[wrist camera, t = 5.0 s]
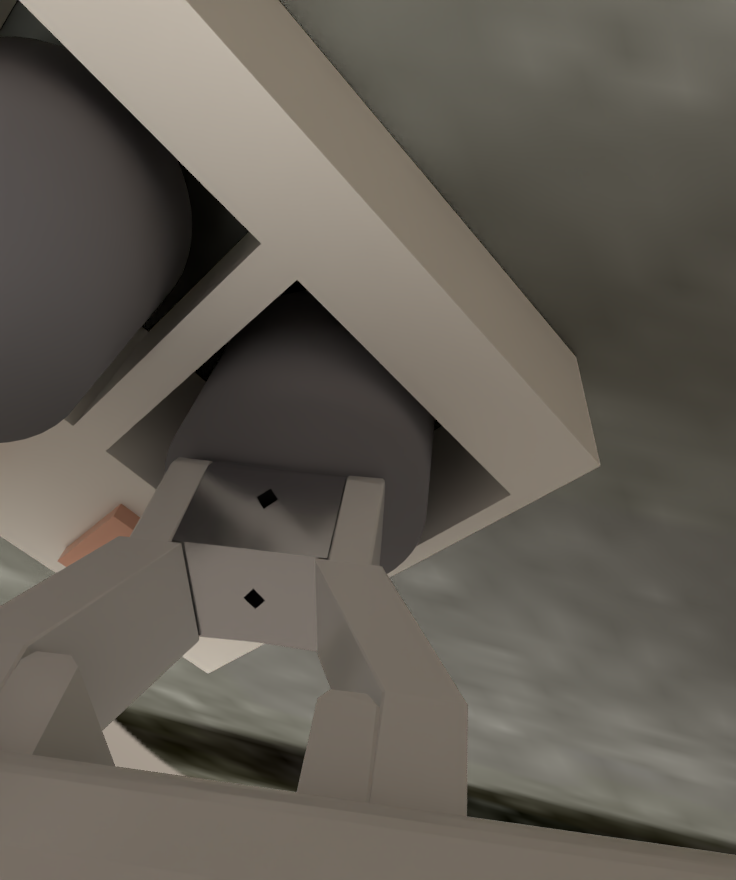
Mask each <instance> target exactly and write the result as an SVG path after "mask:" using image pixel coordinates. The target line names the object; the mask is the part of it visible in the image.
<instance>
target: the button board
mask: <svg viewBox="0 0 736 880" xmlns="http://www.w3.org/2000/svg"><path fill="white" fill-rule="evenodd" d="M16 1H17V0H0V28H1V27H2V25H3V23H4V22H5V20H6V18H7V17H8V15H9V13H10V11H11V10H12V8H13V6H14V5H15V3H16ZM19 1H20V2H21V3H22V4H23V5H24V6H25V7H26V8H27V9H28V10H29V11H30V12H31V13H32V14H33V15H34V16H35V17H36V18H37V19H38V20H39V21H40V22H41V23H42V24H43V25H44V26H45V27H46V28H47V29H48V30H49V31H50V32H51V33H52V34H53V35H54V36H55V37H56V38H57V39H58V40H59V41H60V42H61V43H62V44H63V45H64V46H65V47H66V48H67V49H68V50H69V51H70V52H71V53H72V54H73V55H74V56H75V57H76V58H77V59H78V60H79V61H80V62H81V63H82V64H83V65H84V66H85V67H86V68H87V69H88V70H89V71H90V72H91V73H92V74H93V75H94V76H95V77H96V78H97V79H98V80H99V81H100V82H101V83H102V84H103V85H104V86H105V87H106V88H107V89H108V90H109V91H110V92H111V93H112V94H113V95H114V96H115V97H116V98H117V99H118V100H119V101H120V102H121V103H122V104H123V105H124V106H125V107H126V108H127V109H128V110H129V111H130V112H131V113H132V114H133V115H134V116H135V117H136V118H137V119H138V120H139V121H140V122H141V123H142V124H143V125H144V126H145V127H146V128H147V129H148V130H149V131H150V132H151V133H152V134H153V135H154V136H155V137H156V138H157V139H158V140H159V141H160V142H161V143H162V144H163V145H164V146H165V147H166V148H167V149H168V150H169V151H170V152H171V153H172V154H173V156H174V157H175V158H176V159H177V160H178V161H179V162H180V163H181V164H182V165H183V166H184V167H185V168H186V169H187V170H188V171H189V172H190V173H191V174H192V175H193V176H194V177H195V178H196V179H197V180H198V181H199V182H200V183H201V184H202V185H203V186H204V187H205V188H206V189H207V190H208V191H209V192H210V193H211V194H212V195H213V196H214V197H215V198H216V199H217V200H218V201H219V202H220V203H221V204H222V205H223V206H224V207H225V208H226V209H227V210H228V211H229V212H230V213H231V214H232V215H233V216H234V217H235V218H236V219H237V220H238V221H239V222H240V223H241V224H242V225H243V226H244V227H245V228H246V229H247V230H248V231H249V232H248V233H247V234H246V235H245V236H244V237H243V238H242V239H241V240H240V241H239V242H238V243H237V244H236V245H235V246H234V247H233V248H232V249H231V250H230V251H229V252H228V253H227V254H226V255H225V256H224V257H223V258H222V259H221V260H220V261H219V262H218V263H217V264H216V265H215V266H214V267H213V268H212V269H211V270H210V271H209V272H208V273H207V274H206V275H205V276H204V277H203V278H202V279H201V280H200V281H199V282H198V283H197V284H196V285H195V286H194V287H193V288H192V289H191V290H190V291H189V292H188V293H187V294H186V295H185V296H184V297H183V298H182V299H181V300H180V301H179V302H178V303H177V304H176V305H175V306H174V307H173V308H172V309H171V310H170V311H169V312H168V313H167V314H166V315H165V316H164V317H163V318H162V319H161V320H160V321H159V322H158V323H157V324H156V325H155V326H154V327H153V328H152V329H151V330H150V331H149V332H148V331H147V330H145V329H144V328H143V327H141V328H140V329H139V330H138V332H137V333H136V334H135V335H134V336H133V338H132V339H131V340H130V341H129V342H128V344H127V345H126V346H125V347H124V349H123V350H122V351H121V352H120V353H119V355H118V356H117V357H116V358H115V359H114V361H113V362H112V363H111V364H110V365H109V367H108V368H107V369H106V370H105V372H104V373H103V374H102V375H101V376H100V378H99V379H98V380H97V381H96V382H95V384H94V385H93V386H92V387H91V389H90V390H89V391H88V392H87V393H86V395H85V396H84V397H83V398H82V399H81V401H80V402H79V403H78V404H77V405H76V407H75V408H74V409H73V410H72V411H71V413H70V414H69V415H68V416H67V417H66V418H64V419H63V420H62V421H61V422H60V423H58V424H57V425H56V426H54V427H52V428H50V429H49V430H47V431H45V432H43V433H41V434H38V435H36V436H33V437H30V438H27V439H23V440H18V441H13V442H7V443H0V536H1V537H2V538H4V539H5V540H7V541H8V542H10V543H11V544H13V545H14V546H16V547H17V548H19V549H21V550H22V551H24V552H25V553H27V554H28V555H30V556H31V557H33V558H34V559H36V560H37V561H39V562H40V563H42V564H43V565H45V566H46V567H48V568H49V569H51V570H52V571H54V572H55V573H57V572H59V571H61V570H62V569H64V568H66V567H67V566H69V565H71V564H72V563H74V562H76V561H77V560H79V559H81V558H83V557H84V556H86V555H88V554H89V553H91V552H93V551H94V550H96V549H98V548H99V547H101V546H103V545H105V544H106V543H108V542H110V541H111V540H113V539H115V538H116V537H118V536H124V537H130V535H131V533H132V532H133V530H134V528H135V526H136V524H137V523H138V521H139V519H140V517H141V516H142V514H143V512H144V510H145V509H146V507H147V505H148V503H149V501H150V500H151V498H152V496H153V494H154V493H155V491H156V489H157V487H158V486H159V484H160V482H161V480H162V478H163V477H164V469H165V460H166V456H167V452H168V449H169V447H170V444H171V442H172V440H173V438H174V436H175V434H176V433H177V431H178V429H179V428H180V426H181V424H182V422H183V421H184V419H185V417H186V416H187V414H188V412H189V411H190V409H191V407H192V405H193V404H194V402H195V400H196V399H197V397H198V395H199V394H200V392H201V390H202V388H203V387H204V385H205V383H206V382H205V381H204V380H203V379H202V378H201V377H200V376H199V375H197V374H196V373H195V372H194V371H196V370H197V369H198V368H199V367H200V366H201V365H202V364H203V363H205V362H206V361H207V360H208V359H209V358H210V357H211V356H212V355H213V354H215V353H216V352H217V351H218V350H219V349H220V348H221V347H222V346H224V345H225V344H226V343H227V342H228V341H229V340H230V339H231V338H232V337H234V336H235V335H236V334H237V333H238V332H239V331H240V330H241V329H242V328H244V327H245V326H246V325H247V324H248V323H249V322H250V321H251V320H253V319H254V318H255V317H256V316H257V315H258V314H259V313H260V312H261V311H263V310H264V309H265V308H266V307H267V306H268V305H269V304H270V303H272V302H273V301H274V300H275V299H276V298H277V297H278V296H279V295H280V294H282V293H283V292H284V291H285V290H286V289H287V288H288V287H289V286H291V285H292V284H293V283H294V282H295V281H296V280H298V281H299V282H300V283H301V284H302V285H303V286H304V287H305V288H306V289H307V290H308V291H309V292H310V293H311V294H312V295H313V296H314V297H315V298H316V299H317V300H318V301H319V302H320V303H321V304H322V305H323V306H324V307H325V308H326V309H327V310H328V311H329V312H330V313H331V314H332V315H333V316H334V317H335V318H336V319H337V320H338V321H339V322H340V323H341V324H342V325H343V326H344V327H345V328H346V329H347V330H348V331H349V332H350V333H351V334H352V335H353V336H354V337H355V338H356V339H357V340H358V341H359V342H360V343H361V344H362V345H363V346H364V347H365V348H366V349H367V350H368V351H369V352H370V353H371V354H372V355H373V356H374V357H375V358H376V359H377V360H378V361H379V363H380V364H381V365H382V366H383V367H384V368H385V369H386V370H387V371H388V372H389V373H390V374H391V375H392V376H393V377H394V378H395V379H396V380H397V381H398V382H399V383H400V384H401V385H402V386H403V387H404V388H405V389H406V390H407V391H408V392H409V393H410V394H411V395H412V396H413V397H414V398H415V399H416V400H417V401H418V402H419V403H420V404H421V405H422V406H423V407H424V408H425V409H426V410H427V411H428V412H429V413H430V414H431V415H432V416H433V417H434V418H435V419H436V420H437V421H438V422H439V423H440V424H441V425H442V426H441V427H439V428H438V429H436V430H435V431H434V434H433V445H432V457H431V469H430V480H429V492H428V503H427V515H426V521H425V526H424V530H423V533H422V535H421V538H420V540H419V542H418V544H417V545H416V547H415V549H414V550H413V552H412V553H411V554H410V555H409V556H408V557H407V559H406V560H405V561H404V562H403V563H402V564H400V565H399V566H398V567H397V568H396V569H394V570H393V571H391V572H390V573H388V574H387V575H388V577H389V578H390V577H392V576H393V575H395V574H397V573H399V572H401V571H403V570H405V569H407V568H409V567H410V566H412V565H414V564H416V563H418V562H420V561H422V560H424V559H426V558H427V557H429V556H431V555H433V554H435V553H437V552H439V551H441V550H443V549H444V548H446V547H448V546H450V545H452V544H454V543H456V542H458V541H460V540H461V539H463V538H465V537H467V536H469V535H471V534H473V533H475V532H477V531H479V530H480V529H482V528H484V527H486V526H488V525H490V524H492V523H494V522H496V521H497V520H499V519H501V518H503V517H505V516H507V515H509V514H511V513H513V512H514V511H516V510H518V509H520V508H522V507H524V506H526V505H528V504H530V503H531V502H533V501H535V500H537V499H539V498H541V497H543V496H545V495H547V494H548V493H550V492H552V491H554V490H556V489H558V488H560V487H562V486H564V485H565V484H567V483H569V482H571V481H573V480H575V479H577V478H579V477H581V476H582V475H584V474H586V473H588V472H590V471H592V470H594V469H596V468H598V467H599V466H601V465H600V460H599V456H598V451H597V447H596V443H595V438H594V434H593V429H592V425H591V420H590V416H589V411H588V407H587V402H586V398H585V394H584V389H583V385H582V380H581V376H580V371H579V367H578V362H577V358H576V356H575V355H574V354H573V353H572V352H571V350H570V349H569V348H568V347H567V346H566V344H565V343H564V342H563V341H562V340H561V338H560V337H559V336H558V335H557V334H556V332H555V331H554V330H553V329H552V328H551V326H550V325H549V324H548V323H547V322H546V320H545V319H544V318H543V317H542V316H541V314H540V313H539V312H538V311H537V310H536V308H535V307H534V306H533V305H532V304H531V302H530V301H529V300H528V299H527V298H526V296H525V295H524V294H523V293H522V292H521V290H520V289H519V288H518V287H517V286H516V284H515V283H514V282H513V281H512V280H511V278H510V277H509V276H508V275H507V274H506V272H505V271H504V270H503V269H502V268H501V266H500V265H499V264H498V263H497V262H496V260H495V259H494V258H493V257H492V256H491V254H490V253H489V252H488V251H487V250H486V248H485V247H484V246H483V245H482V244H481V242H480V241H479V240H478V239H477V238H476V236H475V235H474V234H473V233H472V232H471V230H470V229H469V228H468V227H467V226H466V224H465V223H464V222H463V221H462V220H461V218H460V217H459V216H458V215H457V214H456V212H455V211H454V210H453V209H452V208H451V206H450V205H449V204H448V203H447V202H446V200H445V199H444V198H443V197H442V196H441V194H440V193H439V192H438V191H437V190H436V188H435V187H434V186H433V185H432V184H431V182H430V181H429V180H428V179H427V178H426V176H425V175H424V174H423V173H422V172H421V170H420V169H419V168H418V167H417V166H416V164H415V163H414V162H413V161H412V160H411V158H410V157H409V156H408V155H407V154H406V152H405V151H404V150H403V149H402V148H401V146H400V145H399V144H398V143H397V142H396V140H395V139H394V138H393V137H392V136H391V134H390V133H389V132H388V131H387V130H386V128H385V127H384V126H383V125H382V124H381V122H380V121H379V120H378V119H377V118H376V116H375V115H374V114H373V113H372V112H371V110H370V109H369V108H368V107H367V106H366V104H365V103H364V102H363V101H362V100H361V98H360V97H359V96H358V95H357V94H356V92H355V91H354V90H353V89H352V88H351V86H350V85H349V84H348V83H347V82H346V80H345V79H344V78H343V77H342V76H341V74H340V73H339V72H338V71H337V70H336V68H335V67H334V66H333V65H332V64H331V62H330V61H329V60H328V59H327V58H326V56H325V55H324V54H323V53H322V52H321V50H320V49H319V48H318V47H317V46H316V44H315V43H314V42H313V41H312V40H311V38H310V37H309V36H308V35H307V34H306V32H305V31H304V30H303V29H302V28H301V26H300V25H299V24H298V23H297V22H296V20H295V19H294V18H293V17H292V16H291V14H290V13H289V12H288V11H287V10H286V8H285V7H284V6H283V5H282V4H281V2H280V1H279V0H19ZM263 644H265V643H258V642H248V641H238V640H228V639H218V638H208V637H199V641H198V642H197V643H196V644H195V645H194V646H193V647H192V648H191V649H190V650H188V651H187V652H186V653H185V654H184V655H183V656H182V657H184V658H185V659H187V660H188V661H190V662H191V663H193V664H194V665H196V666H197V667H199V668H200V669H202V670H203V671H205V672H206V673H210V672H212V671H214V670H216V669H218V668H220V667H221V666H223V665H225V664H227V663H229V662H231V661H233V660H235V659H237V658H238V657H240V656H242V655H244V654H246V653H248V652H250V651H252V650H254V649H255V648H257V647H259V646H261V645H263Z"/></svg>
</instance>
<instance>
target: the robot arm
mask: <svg viewBox="0 0 736 880" xmlns="http://www.w3.org/2000/svg"><path fill="white" fill-rule="evenodd" d="M384 498H385V480H384V479H383V478H372V477H360V476H341V475H331V474H321V473H311V472H300V471H290V470H281V469H273V468H265V467H258V466H250V465H242V464H234V463H227V462H219V461H213V462H212V461H206V460H198V459H190V458H183V457H179V458H177V459H176V460H175V461H173V462H172V463H171V464H170V466H169V468H168V470H167V471H166V473H165V475H164V477H163V478H162V480H161V482H160V484H159V486H158V487H157V489H156V491H155V493H154V494H153V496H152V498H151V500H150V501H149V503H148V505H147V507H146V509H145V510H144V512H143V514H142V516H141V517H140V519H139V521H138V523H137V524H136V526H135V528H134V530H133V532H132V533H131V535H130V537H124V536H118V537H116V538H115V539H113V540H111V541H110V542H108V543H106V544H105V545H103V546H101V547H99V548H98V549H96V550H94V551H93V552H91V553H89V554H88V555H86V556H84V557H83V558H81V559H79V560H77V561H76V562H74V563H72V564H71V565H69V566H67V567H66V568H64V569H62V570H61V571H59V572H57V573H56V574H54V575H52V576H50V577H49V578H47V579H45V580H44V581H42V582H40V583H39V584H37V585H35V586H34V587H32V588H30V589H29V590H27V591H25V592H23V593H22V594H20V595H18V596H17V597H15V598H13V599H12V600H10V601H8V602H7V603H5V604H3V605H1V606H0V880H736V855H732V854H725V853H718V852H711V851H704V850H697V849H690V848H683V847H676V846H669V845H662V844H655V843H648V842H641V841H634V840H627V839H620V838H613V837H606V836H599V835H592V834H585V833H578V832H571V831H564V830H557V829H550V828H543V827H536V826H529V825H522V824H515V823H508V822H501V821H494V820H487V819H480V818H473V817H467V725H468V705H467V703H466V701H465V700H464V698H463V696H462V695H461V693H460V692H459V690H458V688H457V687H456V685H455V684H454V682H453V680H452V679H451V677H450V675H449V674H448V672H447V671H446V669H445V667H444V666H443V664H442V662H441V661H440V659H439V658H438V656H437V654H436V653H435V651H434V650H433V648H432V646H431V645H430V643H429V641H428V640H427V638H426V637H425V635H424V633H423V632H422V630H421V629H420V627H419V625H418V624H417V622H416V620H415V619H414V617H413V616H412V614H411V612H410V611H409V609H408V608H407V606H406V604H405V603H404V601H403V599H402V598H401V596H400V595H399V593H398V591H397V590H396V588H395V587H394V585H393V583H392V582H391V580H390V578H389V577H388V575H387V574H386V572H385V570H384V569H383V567H382V566H379V565H380V553H381V542H382V528H383V513H384ZM199 637H208V638H218V639H228V640H238V641H248V642H258V643H265V644H271V645H278V646H284V647H291V648H297V649H304V650H310V651H317V655H318V657H319V660H320V662H321V665H322V667H323V670H324V672H325V675H326V678H327V680H328V683H329V685H330V688H331V689H330V690H329V691H327V692H326V693H324V694H323V695H322V696H320V697H319V698H317V703H316V707H315V712H314V716H313V721H312V726H311V730H310V735H309V739H308V744H307V748H306V753H305V757H304V762H303V766H302V771H301V775H300V780H299V785H298V789H297V792H291V791H284V790H277V789H270V788H263V787H256V786H249V785H242V784H235V783H228V782H221V781H214V780H207V779H200V778H193V777H186V776H179V775H172V774H165V773H158V772H151V771H144V770H136V769H130V768H123V767H115V764H114V762H113V759H112V756H111V754H110V751H109V748H108V746H107V743H106V741H105V738H104V735H103V732H102V730H103V729H105V728H106V727H107V726H108V725H109V724H110V723H111V722H112V721H113V720H114V719H115V718H116V717H117V716H119V715H120V714H121V713H122V712H123V711H124V710H125V709H126V708H127V707H128V706H129V705H130V704H131V703H133V702H134V701H135V700H136V699H137V698H138V697H139V696H140V695H141V694H142V693H143V692H144V691H145V690H147V689H148V688H149V687H150V686H151V685H152V684H153V683H154V682H155V681H156V680H157V679H158V678H159V677H160V676H162V675H163V674H164V673H165V672H166V671H167V670H168V669H169V668H170V667H171V666H172V665H173V664H174V663H176V662H177V661H178V660H179V659H180V658H181V657H182V656H183V655H184V654H185V653H186V652H187V651H188V650H190V649H191V648H192V647H193V646H194V645H195V644H196V643H197V642H198V641H199Z"/></svg>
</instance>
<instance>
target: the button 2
mask: <svg viewBox="0 0 736 880" xmlns="http://www.w3.org/2000/svg"><path fill="white" fill-rule="evenodd" d="M434 422H435V418H434V417H433V416H432V415H431V414H430V413H429V412H428V411H427V410H426V409H425V408H424V407H423V406H422V405H421V404H420V403H419V402H418V401H417V400H416V399H415V398H414V397H413V396H412V395H411V394H410V393H409V392H408V391H407V390H406V389H405V388H404V387H403V386H402V385H401V384H400V383H399V382H398V381H397V380H396V379H395V378H394V377H393V376H392V375H391V374H390V373H389V372H388V371H387V370H386V369H385V368H384V367H383V366H382V365H381V364H380V363H379V361H378V360H377V359H376V358H375V357H374V356H373V355H372V354H371V353H370V352H369V351H368V350H367V349H366V348H365V347H364V346H363V345H362V344H361V343H360V342H359V341H358V340H357V339H356V338H355V337H354V336H353V335H352V334H351V333H350V332H349V331H348V330H347V329H346V328H345V327H344V326H343V325H342V324H341V323H340V322H339V321H338V320H337V319H336V318H335V317H334V316H333V315H332V314H331V313H330V312H329V311H328V310H327V309H326V308H325V307H324V306H323V305H322V304H321V303H320V302H319V301H318V300H317V299H316V298H315V297H314V296H313V295H312V294H311V293H310V292H309V291H299V292H295V293H290V294H286V295H283V296H281V297H278V298H276V299H275V300H274V301H273V302H272V303H270V304H269V305H268V306H267V307H266V308H265V309H264V310H263V311H261V312H260V313H259V314H258V315H257V316H256V317H255V318H254V319H253V320H251V321H250V322H249V323H248V324H247V325H246V326H245V327H244V328H242V329H241V330H240V331H239V332H238V333H237V334H236V335H235V336H234V337H232V339H231V341H230V342H229V344H228V346H227V348H226V349H225V351H224V353H223V354H222V356H221V358H220V359H219V361H218V363H217V365H216V366H215V368H214V370H213V371H212V373H211V375H210V376H209V378H208V380H207V382H206V383H205V385H204V387H203V388H202V390H201V392H200V394H199V395H198V397H197V399H196V400H195V402H194V404H193V405H192V407H191V409H190V411H189V412H188V414H187V416H186V417H185V419H184V421H183V422H182V424H181V426H180V428H179V429H178V431H177V433H176V434H175V436H174V438H173V440H172V442H171V444H170V447H169V449H168V452H167V456H166V460H165V469H164V475H165V473H166V471H167V470H168V468H169V466H170V464H171V463H172V462H173V461H175V460H176V459H177V458H179V457H183V458H190V459H198V460H206V461H212V462H213V461H219V462H227V463H234V464H242V465H250V466H258V467H265V468H273V469H281V470H290V471H300V472H311V473H321V474H331V475H341V476H360V477H372V478H383V479H384V480H385V498H384V513H383V528H382V542H381V553H380V565H379V566H382V567H383V569H384V570H385V572H386V574H388V573H390V572H391V571H393V570H394V569H396V568H397V567H398V566H399V565H400V564H402V563H403V562H404V561H405V560H406V559H407V557H408V556H409V555H410V554H411V553H412V552H413V550H414V549H415V547H416V545H417V544H418V542H419V540H420V538H421V535H422V533H423V530H424V526H425V521H426V515H427V503H428V492H429V480H430V469H431V457H432V445H433V434H434Z"/></svg>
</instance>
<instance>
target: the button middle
mask: <svg viewBox="0 0 736 880" xmlns="http://www.w3.org/2000/svg"><path fill="white" fill-rule="evenodd" d="M191 235H192V216H191V206H190V200H189V195H188V190H187V186H186V183H185V180H184V177H183V174H182V170H181V168H180V166H179V163H178V161H177V159H176V158H175V157H174V156H173V154H172V153H171V152H170V151H169V150H168V149H167V148H166V147H165V146H164V145H163V144H162V143H161V142H160V141H159V140H158V139H157V138H156V137H155V136H154V135H153V134H152V133H151V132H150V131H149V130H148V129H147V128H146V127H145V126H144V125H143V124H142V123H141V122H140V121H139V120H138V119H137V118H136V117H135V116H134V115H133V114H132V113H131V112H130V111H129V110H128V109H127V108H126V107H125V106H124V105H123V104H122V103H121V102H120V101H119V100H118V99H117V98H116V97H115V96H114V95H113V94H112V93H111V92H110V91H109V90H108V89H107V88H106V87H105V86H104V85H103V84H102V83H101V82H100V81H99V80H98V79H97V78H96V77H95V76H94V75H93V74H92V73H91V72H90V71H89V70H88V69H87V68H86V67H85V66H84V65H83V64H82V63H81V62H80V61H79V60H78V59H77V58H76V57H75V56H74V55H73V54H72V53H71V52H70V51H69V50H67V49H65V48H62V47H60V46H58V45H55V44H51V43H48V42H44V41H40V40H37V39H31V38H23V37H16V36H14V37H0V443H7V442H13V441H18V440H23V439H27V438H30V437H33V436H36V435H38V434H41V433H43V432H45V431H47V430H49V429H50V428H52V427H54V426H56V425H57V424H58V423H60V422H61V421H62V420H63V419H64V418H66V417H67V416H68V415H69V414H70V413H71V411H72V410H73V409H74V408H75V407H76V405H77V404H78V403H79V402H80V401H81V399H82V398H83V397H84V396H85V395H86V393H87V392H88V391H89V390H90V389H91V387H92V386H93V385H94V384H95V382H96V381H97V380H98V379H99V378H100V376H101V375H102V374H103V373H104V372H105V370H106V369H107V368H108V367H109V365H110V364H111V363H112V362H113V361H114V359H115V358H116V357H117V356H118V355H119V353H120V352H121V351H122V350H123V349H124V347H125V346H126V345H127V344H128V342H129V341H130V340H131V339H132V338H133V336H134V335H135V334H136V333H137V332H138V330H139V329H140V328H141V327H142V326H143V324H144V323H145V322H146V321H147V319H148V318H149V317H150V316H151V315H152V313H153V312H154V311H155V310H156V309H157V307H158V306H159V305H160V304H161V303H162V301H163V300H164V299H165V298H166V296H167V295H168V294H169V293H170V292H171V290H172V289H173V288H174V287H175V285H176V283H177V282H178V280H179V278H180V276H181V275H182V273H183V270H184V267H185V265H186V262H187V259H188V255H189V250H190V246H191Z"/></svg>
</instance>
